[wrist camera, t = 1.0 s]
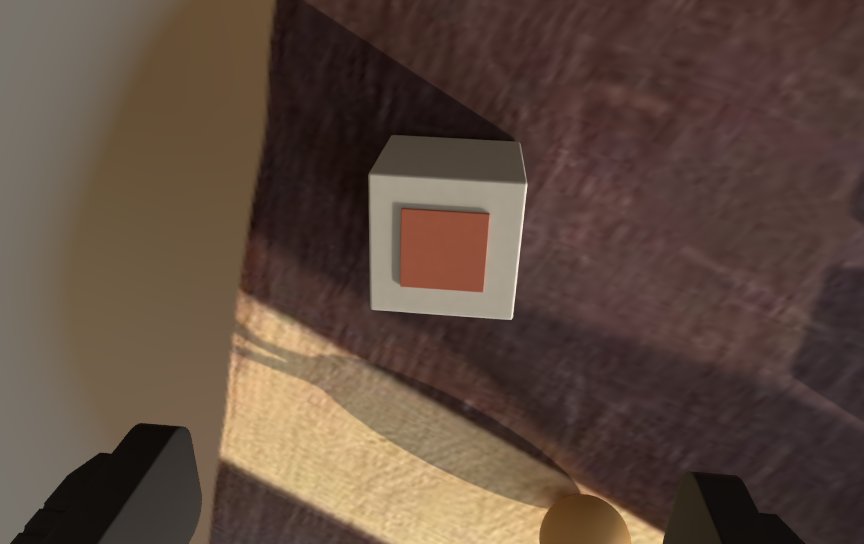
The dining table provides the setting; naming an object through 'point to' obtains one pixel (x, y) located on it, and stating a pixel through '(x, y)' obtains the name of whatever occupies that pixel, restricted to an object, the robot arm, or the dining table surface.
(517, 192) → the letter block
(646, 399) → the dining table surface
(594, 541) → the figurine
